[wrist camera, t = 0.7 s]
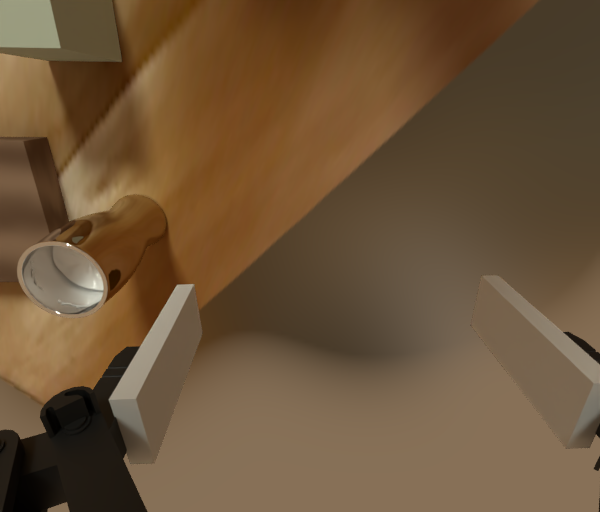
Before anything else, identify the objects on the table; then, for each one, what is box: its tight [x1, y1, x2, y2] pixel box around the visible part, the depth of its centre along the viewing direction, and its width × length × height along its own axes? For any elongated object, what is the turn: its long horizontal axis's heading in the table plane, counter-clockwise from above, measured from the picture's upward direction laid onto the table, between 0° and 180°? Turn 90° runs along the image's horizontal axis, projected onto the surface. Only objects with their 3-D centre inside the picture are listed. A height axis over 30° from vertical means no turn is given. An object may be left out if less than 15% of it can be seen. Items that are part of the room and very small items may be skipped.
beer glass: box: [17, 194, 167, 318], centre depth 34 cm, size 7×7×15 cm
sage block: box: [0, 0, 122, 62], centre depth 28 cm, size 7×7×10 cm
